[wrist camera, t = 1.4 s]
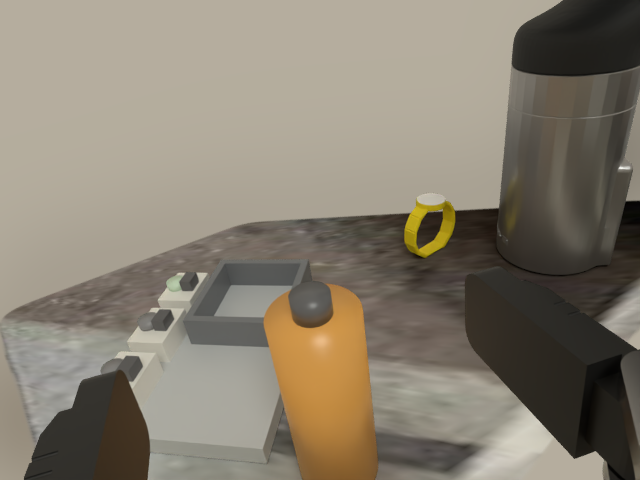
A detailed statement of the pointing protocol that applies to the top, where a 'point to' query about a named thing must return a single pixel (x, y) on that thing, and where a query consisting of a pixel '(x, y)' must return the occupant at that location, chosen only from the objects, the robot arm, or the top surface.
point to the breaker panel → (211, 361)
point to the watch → (422, 207)
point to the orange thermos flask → (324, 380)
